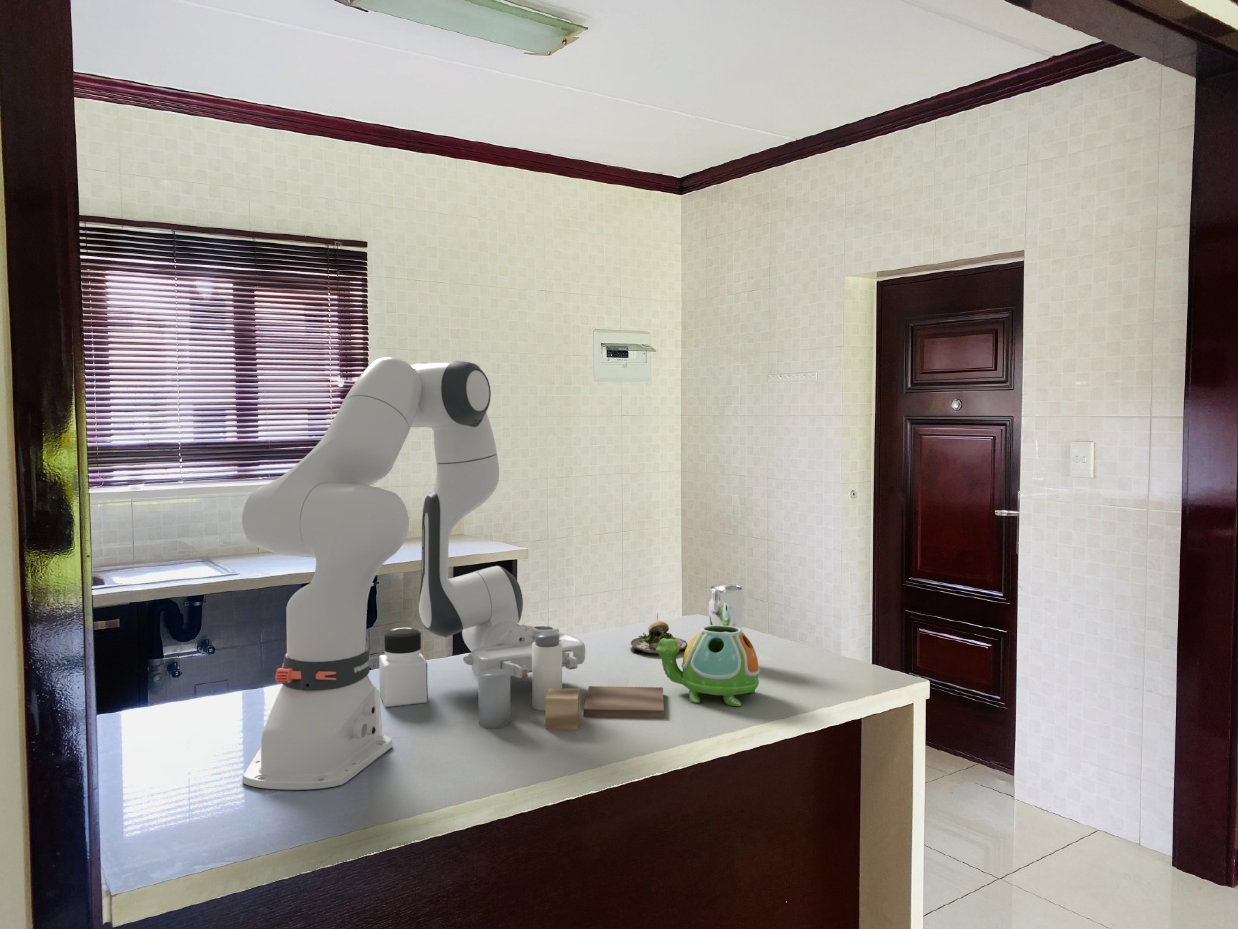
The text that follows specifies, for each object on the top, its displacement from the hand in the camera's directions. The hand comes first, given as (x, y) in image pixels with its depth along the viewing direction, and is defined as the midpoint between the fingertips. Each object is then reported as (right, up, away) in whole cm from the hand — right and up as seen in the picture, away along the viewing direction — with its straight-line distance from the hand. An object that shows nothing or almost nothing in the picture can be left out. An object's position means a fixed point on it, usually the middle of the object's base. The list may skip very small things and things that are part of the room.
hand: (549, 668), depth 151 cm
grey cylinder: (-8, -7, -7) cm, 13 cm away
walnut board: (+13, -6, +2) cm, 14 cm away
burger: (+20, -5, +36) cm, 42 cm away
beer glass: (+33, -5, +27) cm, 43 cm away
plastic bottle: (0, -6, +1) cm, 7 cm away
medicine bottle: (-25, -6, +4) cm, 26 cm away
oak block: (+3, -7, -8) cm, 11 cm away
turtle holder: (+28, -6, +7) cm, 29 cm away
